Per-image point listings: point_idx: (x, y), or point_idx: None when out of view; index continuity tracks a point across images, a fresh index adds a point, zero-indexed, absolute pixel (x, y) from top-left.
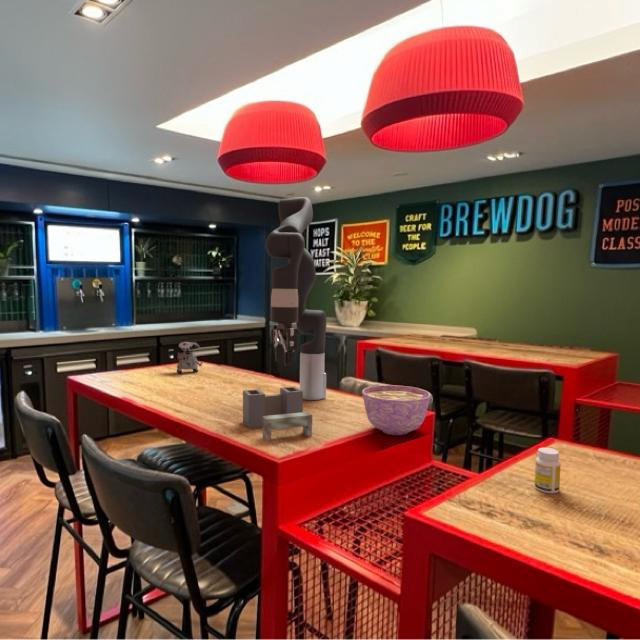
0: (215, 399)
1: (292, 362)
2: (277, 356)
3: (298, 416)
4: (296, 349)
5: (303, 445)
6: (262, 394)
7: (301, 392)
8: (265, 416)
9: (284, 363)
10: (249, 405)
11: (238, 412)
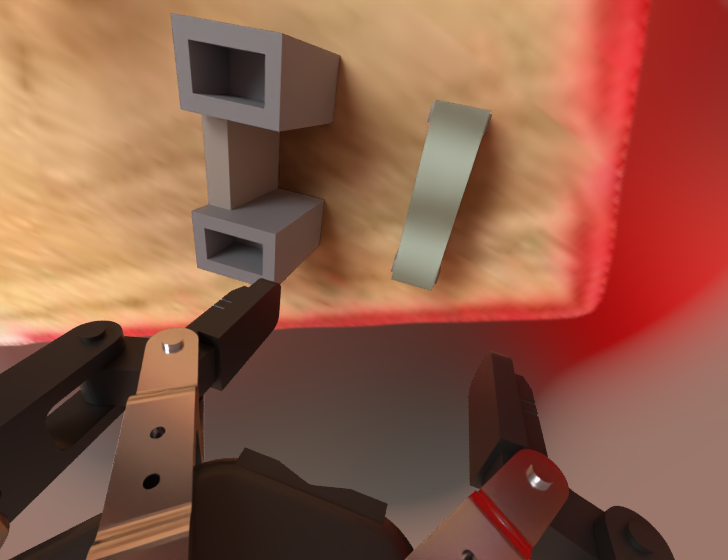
0: (33, 184)
1: (510, 371)
2: (259, 337)
3: (468, 177)
4: (657, 531)
5: (543, 193)
6: (275, 244)
7: (284, 43)
8: (399, 273)
9: (469, 401)
10: (290, 271)
11: (166, 191)
